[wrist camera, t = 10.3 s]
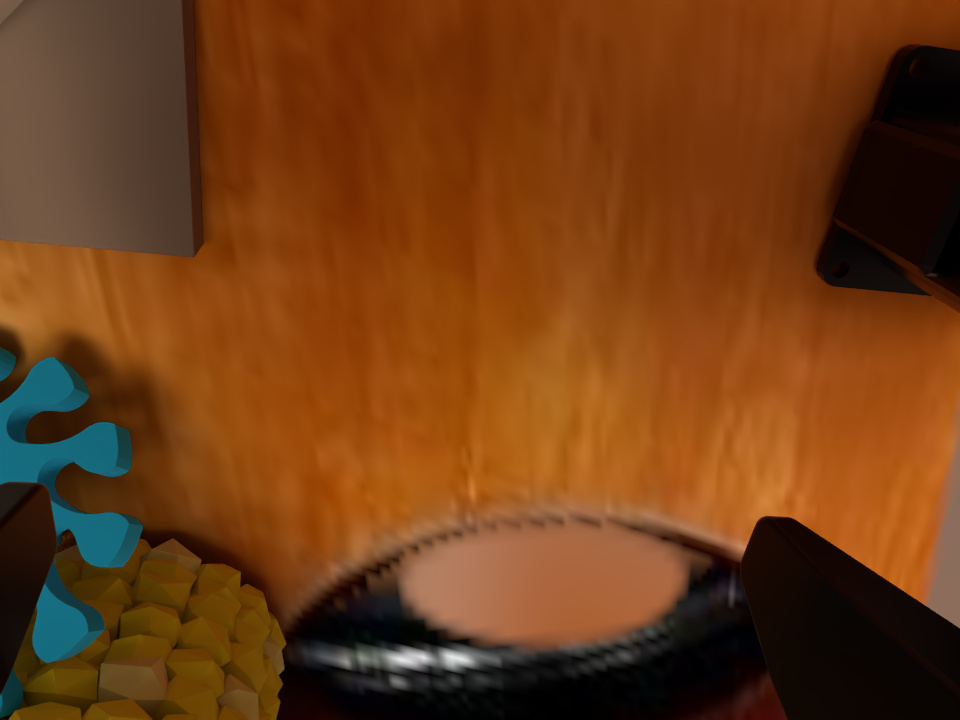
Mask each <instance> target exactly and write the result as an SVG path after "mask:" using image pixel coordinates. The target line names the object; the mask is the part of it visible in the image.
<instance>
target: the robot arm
mask: <svg viewBox="0 0 960 720" xmlns="http://www.w3.org/2000/svg"><path fill="white" fill-rule="evenodd" d="M917 57H918V58H919V61H920V62H919V67H918V68H917V70H916V72H914V73H913V74H910V72H909V70H910V65H911V63H912V62H913V60H915V59H916V58H917ZM833 217H834V220H833V223H832V226H831V228H830V231H829V234H828V236H827V239H826V242H825V244H824V247H823V250H822V253H821V255H820V258H819V261H818V263H817V269H816V271H817V274H818V276H819V277H820V278H821V279H822V280H823V281H825V282H826V283H827V284H829V285H832V286H836V287H846V288H857V289H867V290H877V291H887V292H898V293H908V294H918V295H928V296H934V297H935V298H937V299H938V300H940V301H942V302H943V303H945V304H946V305H948V306H950V307H951V308H953V309H954V310H956V311H958V312H959V313H960V51H958V50H952V49H945V48H939V47H932V46H926V45H919V44H914V45H909V46H907V47H905V48H903V49H902V50H901V51H900V52H899V53H898V54H897V55H896V57H895V58H894V60H893V62H892V64H891V67H890V70H889V72H888V75H887V78H886V80H885V83H884V86H883V89H882V91H881V94H880V97H879V99H878V102H877V105H876V107H875V110H874V113H873V115H872V118H871V121H870V123H869V126H868V127H867V128H866V129H865V130H864V132H863V135H862V138H861V141H860V143H859V146H858V149H857V151H856V154H855V157H854V159H853V162H852V165H851V168H850V170H849V173H848V176H847V178H846V181H845V184H844V186H843V189H842V192H841V195H840V197H839V200H838V203H837V205H836V208H835V211H834V214H833ZM839 262H842V264H841V267H840V269H839V270H838V271H836V272H835V273H832V269H833V267H834V266H835V265H836V264H837V263H839ZM56 547H57V534H56V528H55V522H54V516H53V511H52V505H51V499H50V494H49V491H48V489H47V487H46V486H45V485H43V484H41V483H32V482H6V483H3V484H1V485H0V695H1V693H2V691H3V689H4V687H5V685H6V683H7V680H8V678H9V676H10V674H11V671H12V669H13V666H14V664H15V661H16V659H17V656H18V654H19V651H20V648H21V645H22V643H23V640H24V637H25V635H26V632H27V629H28V627H29V624H30V621H31V619H32V616H33V613H34V610H35V608H36V605H37V602H38V600H39V597H40V594H41V592H42V589H43V586H44V584H45V581H46V578H47V575H48V573H49V570H50V567H51V565H52V562H53V559H54V556H55V552H56ZM740 575H741V580H742V584H743V587H744V591H745V594H746V597H747V601H748V604H749V607H750V611H751V614H752V617H753V621H754V624H755V627H756V631H757V634H758V638H759V641H760V644H761V648H762V651H763V654H764V658H765V661H766V664H767V668H768V671H769V674H770V677H771V680H772V683H773V685H774V688H775V690H776V693H777V696H778V698H779V701H780V703H781V706H782V708H783V711H784V713H785V716H786V718H787V720H960V628H958V627H957V626H955V625H954V624H952V623H951V622H949V621H948V620H946V619H945V618H943V617H942V616H940V615H939V614H937V613H936V612H934V611H933V610H931V609H930V608H928V607H926V606H925V605H923V604H922V603H920V602H919V601H917V600H916V599H914V598H913V597H911V596H910V595H908V594H907V593H905V592H904V591H902V590H901V589H899V588H898V587H896V586H895V585H893V584H892V583H890V582H889V581H887V580H886V579H884V578H883V577H881V576H880V575H878V574H877V573H875V572H874V571H872V570H871V569H869V568H868V567H866V566H865V565H863V564H861V563H860V562H858V561H857V560H855V559H854V558H852V557H851V556H849V555H848V554H846V553H845V552H843V551H842V550H840V549H839V548H837V547H836V546H834V545H833V544H831V543H830V542H828V541H827V540H825V539H824V538H822V537H821V536H819V535H818V534H816V533H815V532H813V531H812V530H810V529H809V528H807V527H806V526H804V525H803V524H801V523H799V522H798V521H796V520H795V519H793V518H790V517H776V516H765V517H762V518H760V519H759V520H758V521H757V523H756V525H755V527H754V530H753V532H752V535H751V537H750V540H749V542H748V545H747V547H746V550H745V552H744V555H743V557H742V560H741V565H740Z"/></svg>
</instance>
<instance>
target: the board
mask: <svg viewBox="0 0 960 720" xmlns="http://www.w3.org/2000/svg"><path fill="white" fill-rule="evenodd" d="M0 240H9V241H20V242H31V243H42V244H53V245H64V246H75V247H86V248H97V249H108V250H119V251H130V252H141V253H152V254H163V255H174V256H185V257H195V255H196V254H197V252H198V251H199V249H200V248H201V247H202V245H203V227H202V203H201V179H200V155H199V131H198V107H197V83H196V58H195V34H194V10H193V0H23V1H22V2H21V4H20V5H19V6H18V7H17V8H16V9H15V10H14V11H13V12H12V13H11V14H10V15H9V16H8V17H7V18H6V19H5V20H4V21H3V22H2V23H1V24H0Z"/></svg>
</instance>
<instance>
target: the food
mask: <svg viewBox="0 0 960 720" xmlns="http://www.w3.org/2000/svg"><path fill="white" fill-rule="evenodd" d="M201 561H202V560H201V559H200V558H198V557H197V556H196V555H194V554H193V553H192V552H190V551H189V550H188V549H186V548H185V547H184V546H183V545H181V544H180V543H179V542H177V541H176V540H175V539H173V538H172V539H170V540H169V541H167V542H165V543H163V544H161V545H159V546H157V547H155V548H153V549H151V547H150V546H149V544H148V542H147V541H146V540H143V539H139V541H138V543H137V546H136V548H135V550H134V552H133V554H132V555H131V557H130V559H129V560H128V561H127V562H126V563H125V565H124V566H123V567H98V566H94V565H91V564H89V563H88V562H87V561H85V559H84V558H83V557H82V555H81V553H80V551H79V548H78V545H77V544H76V545H74V546H72V547H69V548H67V549H65V550H63V551H61V552H58V553H56V554H55V556H54V563H55V566H56V569H57V572H58V574H59V576H60V579H61V581H62V583H63V584H64V586H65V587H66V589H67V590H68V591H69V592H70V593H71V594H72V595H73V596H74V597H75V598H77V599H78V600H80V601H81V602H83V603H85V604H87V605H89V606H92V607H94V608H95V609H96V610H98V611H99V613H100V614H101V615H102V617H103V620H104V624H105V630H104V631H103V632H102V633H101V634H100V635H99V636H98V637H97V638H96V639H95V640H94V641H93V642H92V643H91V644H90V645H89V646H87V647H86V648H85V649H84V650H82V651H81V652H79V653H78V654H76V655H74V656H72V657H70V658H68V659H64V660H59V661H55V662H50V663H47V662H45V661H43V660H41V659H40V658H39V657H38V656H37V654H36V652H35V650H34V648H33V642H32V637H33V631H34V626H35V622H36V617H37V605H36V608H35V610H34V613H33V616H32V619H31V621H30V624H29V627H28V629H27V632H26V635H25V637H24V640H23V643H22V645H21V648H20V651H19V654H18V656H17V659H16V661H15V664H14V666H13V669H14V672H15V674H16V676H17V677H18V679H19V681H20V682H21V685H22V688H23V701H22V705H21V707H20V709H19V710H15V712H14V713H13V714H11V715H8V716H6V717H2V718H0V720H276V717H277V713H278V709H279V705H280V700H279V699H278V697H277V694H278V692H279V690H280V689H281V687H282V685H283V683H282V681H281V679H280V677H279V674H280V673H281V672H282V671H283V670H284V662H283V656H282V649H283V648H284V646H285V645H286V641H285V639H284V636H283V634H282V631H281V629H280V626H279V624H278V621H277V619H276V618H275V617H274V616H273V615H272V614H271V613H270V612H268V608H267V604H266V601H265V597H264V593H263V592H262V591H260V590H258V589H256V588H254V587H252V586H250V585H248V584H245V585H244V586H242V587H240V581H241V572H240V571H238V570H236V569H234V568H232V567H230V566H228V565H226V564H201Z"/></svg>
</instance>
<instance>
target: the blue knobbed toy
mask: <svg viewBox="0 0 960 720" xmlns="http://www.w3.org/2000/svg"><path fill="white" fill-rule="evenodd" d="M15 363H16V356H14V355H13V354H12V353H11V352H9V351H7V350H5V349H3V348H1V347H0V381H2V380H4V379H5V378H6V377H7V376H8V375H9V374H10V373H11V372H12V370H13V368H14V366H15ZM89 396H90V394H89V390H88V387H87V386H86V384H85V382H84V380H83V379H82V378H81V377H80V375H79V374H78V373H77V372H76V371H75V370H74V369H73V368H72V367H71V366H70V365H68V364H66V363H65V362H63V361H61V360H59V359H57V358H55V357H50V358H46V359H44V360H41V361H40V362H38V363H37V364H36V365H35V366H34V367H33V368H32V369H31V371H30V372H29V374H28V376H27V378H26V379H25V381H24V382H23V383H22V384H21V386H20V387H19V388H18V389H17V390H16V391H15V392H14V393H13V394H12V395H11V396H10V397H9V398H7V399H6V400H4V401H3V402H2V403H0V485H1V484H3V483H6V482H32V483H41V484H43V485H45V486H46V487H47V489H48V491H49V494H50V499H51V505H52V511H53V516H54V522H55V528H56V534H57V547H58V546H59V544H60V543H61V540H62V532H63V531H65V530H67V529H69V530H71V532H72V533H73V534H74V536H75V539H76V542H77V545H78V548H79V551H80V553H81V555H82V557H83V558H84V559H85V561H87V562H88V563H89V564H91V565H94V566H98V567H123V566H124V565H125V563H126V562H127V561H128V560H129V559H130V557H131V555H132V554H133V552H134V550H135V548H136V546H137V543H138V541H139V538H140V535H141V532H142V529H143V524H142V523H141V522H140V521H139V520H138V519H137V518H135V517H133V516H130V515H125V514H119V513H111V512H106V513H100V514H87V513H84V512H82V511H80V510H78V509H77V508H75V507H73V506H72V505H70V504H69V503H68V502H66V501H65V500H64V499H62V498H61V497H60V496H59V495H58V493H57V491H56V488H55V481H56V477H57V475H58V473H59V472H60V471H61V469H62V468H64V467H65V466H66V465H68V464H70V463H73V462H75V463H76V464H78V465H79V466H80V467H82V468H83V469H85V470H87V471H89V472H93V473H96V474H100V475H104V476H107V477H117V476H121V475H123V474H125V473H127V472H128V471H130V468H131V464H132V443H131V437H130V432H129V430H127V429H125V428H122V427H120V426H118V425H115V424H112V423H109V422H100V423H95V424H93V425H91V426H89V427H87V428H86V429H85V430H83V431H82V432H80V433H79V434H77V435H75V436H73V437H71V438H69V439H66V440H63V441H60V442H56V443H50V444H29V443H28V441H27V439H26V436H25V430H26V426H27V424H28V422H29V421H30V419H31V418H32V417H33V416H35V415H36V414H38V413H40V412H43V411H59V412H68V411H72V410H75V409H77V408H79V407H80V406H82V405H83V404H84V403H85V402H86V401H87V400H88V398H89ZM57 547H56V548H57ZM104 630H105V624H104V620H103V617H102V615H101V614H100V613H99V611H98V610H96V609H95V608H94V607H92V606H89V605H87V604H85V603H83V602H81V601H80V600H78V599H77V598H75V597H74V596H73V595H72V594H71V593H70V592H69V591H68V590H67V589H66V587H65V586H64V584H63V583H62V581H61V579H60V576H59V574H58V572H57V569H56V566H55V563H54V559H53V562H52V565H51V567H50V570H49V573H48V575H47V578H46V581H45V584H44V586H43V589H42V592H41V594H40V597H39V600H38V602H37V617H36V622H35V626H34V631H33V637H32V642H33V648H34V650H35V652H36V654H37V656H38V657H39V658H40V659H41V660H43V661H45V662H47V663H50V662H55V661H59V660H64V659H68V658H70V657H72V656H74V655H76V654H78V653H79V652H81V651H82V650H84V649H85V648H86V647H87V646H89V645H90V644H91V643H92V642H93V641H94V640H95V639H96V638H97V637H98V636H99V635H100V634H101V633H102V632H103V631H104ZM22 701H23V688H22V685H21V682H20V681H19V679H18V677H17V676H16V674H15V672H14V669H12V671H11V674H10V676H9V678H8V680H7V683H6V685H5V687H4V689H3V691H2V693H1V695H0V718H2V717H6V716H8V715H11V714H13V713H14V712H15V710H19V709H20V707H21V705H22Z"/></svg>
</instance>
